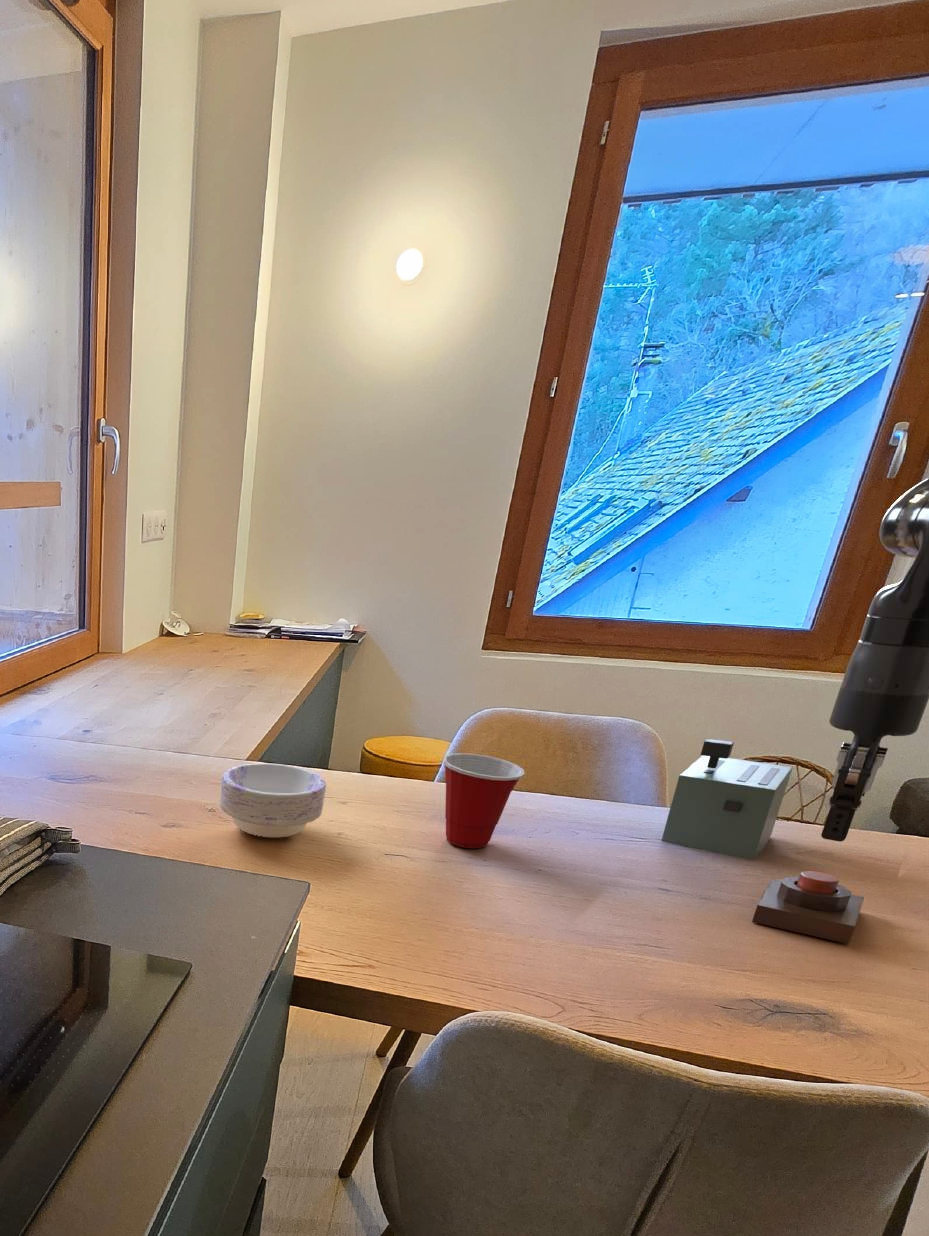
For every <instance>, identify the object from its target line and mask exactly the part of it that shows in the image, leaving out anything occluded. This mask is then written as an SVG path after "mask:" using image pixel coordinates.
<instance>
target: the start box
mask: <svg viewBox="0 0 929 1236" xmlns="http://www.w3.org/2000/svg"><path fill="white" fill-rule="evenodd" d="M799 877H800V876H789V877H783V878H782V879H778V878H772V879H771V880H770V882H769V884H768V885H767V888H766V889H765V891H764V893H763V895H762V896H761V898H760V899H759V901H758V903H757V905H756V907H755V911H754V914H753V916H752V920H751V922H752V923H756V924H759V925H763V926H769V927H772V928H777V929H781V930H785V931H790V932H794V933H798V934H799V933H800V934H803V935H808V936H812V937H815V938H820V939H825V940H829V941H834V942H836V943H837V942H838V943H842V944H846V945H849V944H850V942H851V939H852V936H853V933H854V931H855V928H856V924H857V922H858V918H859V915H860V913H861V910H862V909H861V908H862V905H863V903H864V899H865V898H864V896H861V895H855V894H852V893H853V892H852V891H851V890H850V889H848V888H846V887H845V886H843V885H840V884H838V885H837V888H836V891H835V893H833V894H830V893H819V892H814V891H809V890H806V889H803V888H800V887H798V886H796V885H797V882H798V880H799Z"/></svg>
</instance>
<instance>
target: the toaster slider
mask: <svg viewBox="0 0 929 1236" xmlns="http://www.w3.org/2000/svg"><path fill="white" fill-rule="evenodd" d="M734 745H735V742H734V741H727V740H720V739H713V738H706V739H705V740H704V741H703V745H702V748H701V752H700V756H703V755H704V756H710V759H709V762H708V766H707V767H708V768H716V767H717V764H718V761H719V758H725V759H727V758H730V757H731V755H732V751H733V748H734Z"/></svg>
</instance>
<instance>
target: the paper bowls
mask: <svg viewBox="0 0 929 1236" xmlns="http://www.w3.org/2000/svg"><path fill="white" fill-rule="evenodd" d="M220 780H221V782H220V796H219V806H220V807H219V808H220V809H221V810H222V811H223V813H224V814H226V815H228V816H230V817H231V819H232V821H233V823H234V825H235V826H236V827H237V828H238V829H239V830H240V831H242V832H244V831H245V832H244V833H246V832H247V833H246V834H250V835H252V834H253V836H256V835H257V836H256V837H261V836H262V837H261V838H286V837H290V836H294V835H296V834H298V833H300V832H301V831H302V830H304V829H305V828H306V826H307V824H308V823H311V822H312V823H313V822H314V821H316V820H317V819H319V818H320V817H321V816H322V815H323V814H322V813H323V807H324V803H325V798H326V797H325V795H326V789H327V784H326V781H325V779H324V778H323V777H322V776H321V775H320V774H317V773H316V772H314V771H312V770H308V769H305V768H301V767H298V766H294V765H287V764H282V763H281V764H280V763H270V762H269V763H268V762H267V763H266V762H265V763H264V762H263V763H260V762H259V763H258V762H257V763H247V764H241V765H237V766H233V767H230V768H229V769H227V770H226V771H224V773H223V774H222V776H221V779H220Z"/></svg>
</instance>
